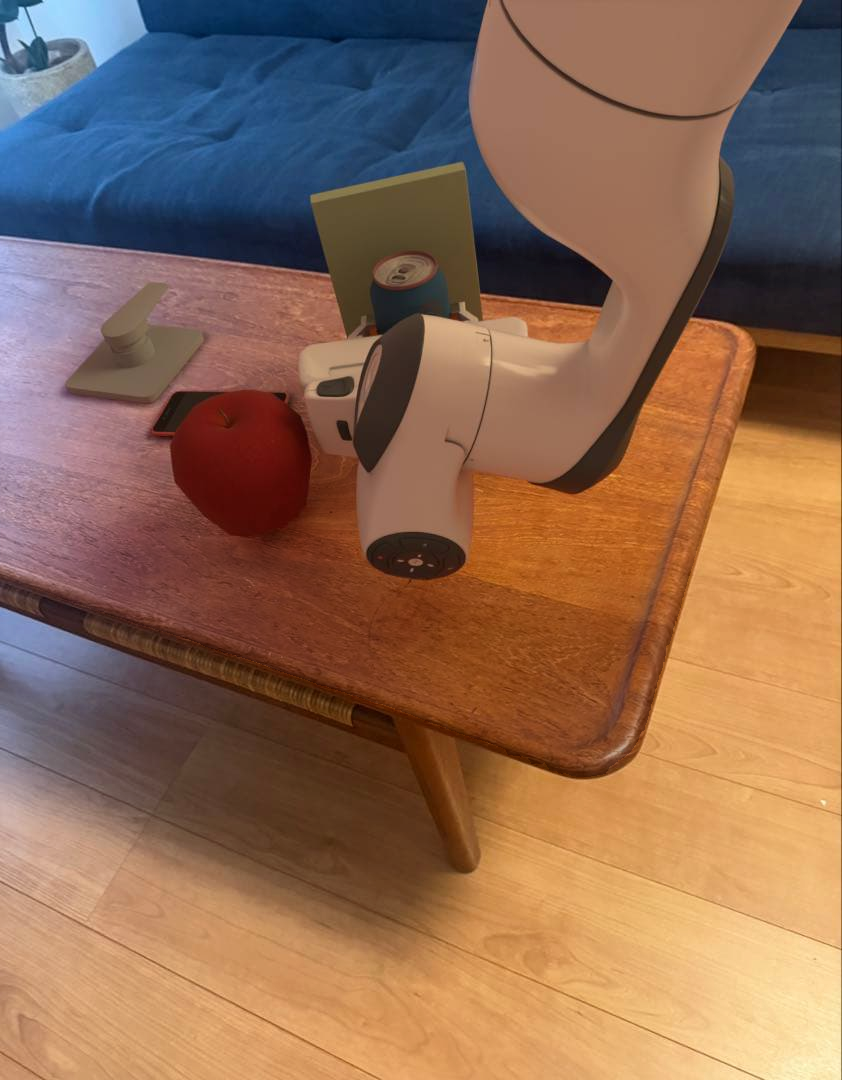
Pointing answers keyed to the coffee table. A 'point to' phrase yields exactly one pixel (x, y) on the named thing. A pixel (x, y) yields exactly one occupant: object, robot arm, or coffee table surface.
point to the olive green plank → (398, 234)
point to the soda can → (408, 289)
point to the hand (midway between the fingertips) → (413, 315)
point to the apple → (243, 461)
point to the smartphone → (187, 409)
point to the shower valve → (135, 353)
